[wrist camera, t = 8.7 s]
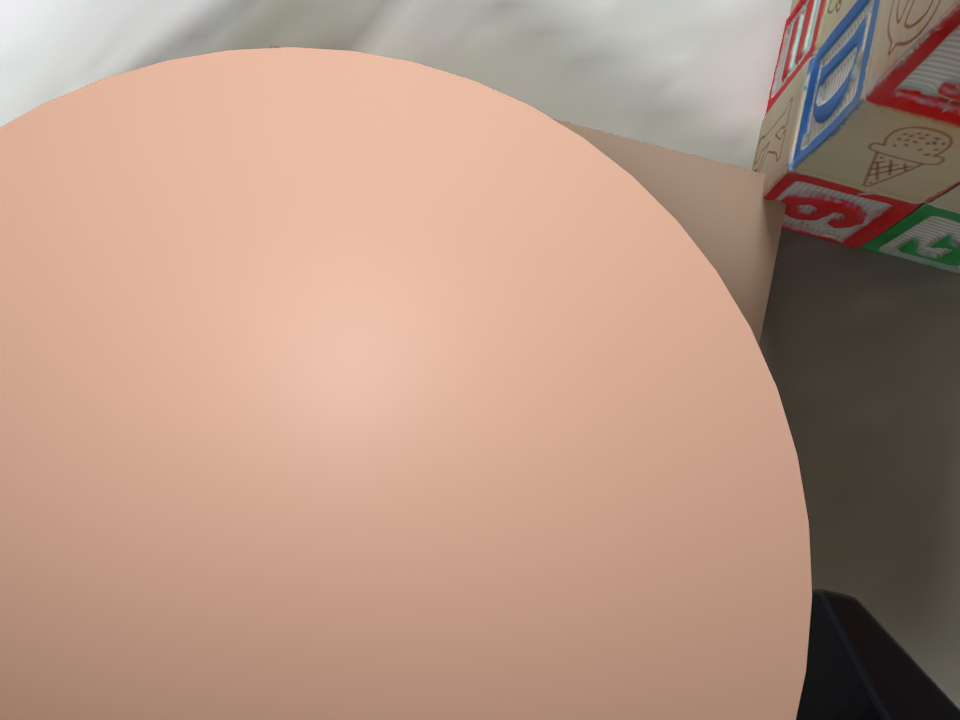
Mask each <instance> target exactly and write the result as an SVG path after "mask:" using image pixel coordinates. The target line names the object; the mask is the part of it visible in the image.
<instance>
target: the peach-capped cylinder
mask: <svg viewBox="0 0 960 720" xmlns="http://www.w3.org/2000/svg"><path fill="white" fill-rule="evenodd" d="M811 604H812V582H811V559H810V535H809V521H808V515H807V509H806V503H805V498H804V492H803V486H802V480H801V474H800V468H799V462H798V456H797V452H796V449H795V446H794V442H793V439H792V436H791V432H790V429H789V426H788V422H787V419H786V416H785V412H784V409H783V406H782V402H781V399H780V396H779V392H778V389H777V387H776V384H775V382H774V380H773V378H772V375H771V373H770V371H769V368H768V366H767V364H766V362H765V359H764V357H763V355H762V353H761V350H760V348H759V346H758V344H757V341H756V339H755V337H754V335H753V332H752V330H751V328H750V326H749V324H748V323H747V321H746V319H745V318H744V316H743V314H742V313H741V311H740V309H739V308H738V306H737V304H736V303H735V301H734V299H733V298H732V296H731V294H730V293H729V291H728V289H727V288H726V286H725V284H724V283H723V281H722V279H721V278H720V276H719V274H718V273H717V271H716V270H715V268H714V267H713V266H712V265H711V263H710V262H709V261H708V260H707V258H706V257H705V256H704V254H703V253H702V252H701V251H700V249H699V248H698V247H697V245H696V244H695V243H694V242H693V240H692V239H691V238H690V236H689V235H688V234H687V233H686V231H685V230H684V229H683V228H682V226H681V225H680V224H679V222H678V221H677V220H676V219H675V218H674V217H673V216H672V215H671V214H670V213H669V212H668V211H667V210H666V209H665V208H664V207H663V206H662V205H661V204H660V203H659V202H658V201H657V200H656V199H655V198H654V197H653V196H652V195H651V194H650V193H649V192H648V191H647V190H646V189H645V188H644V187H643V186H642V185H641V184H640V183H639V182H638V181H637V180H636V179H635V178H634V177H633V176H632V175H630V174H629V173H628V172H627V171H625V170H624V169H623V168H621V167H620V166H619V165H618V164H616V163H615V162H614V161H612V160H611V159H610V158H609V157H607V156H606V155H605V154H603V153H602V152H601V151H600V150H598V149H597V148H596V147H594V146H593V145H592V144H591V143H589V142H588V141H587V140H586V139H584V138H583V137H581V136H580V135H578V134H576V133H575V132H573V131H571V130H570V129H568V128H566V127H565V126H563V125H561V124H560V123H558V122H556V121H555V120H553V119H551V118H550V117H548V116H546V115H545V114H543V113H541V112H540V111H538V110H536V109H535V108H533V107H531V106H529V105H527V104H525V103H523V102H520V101H518V100H516V99H514V98H511V97H509V96H507V95H505V94H502V93H500V92H498V91H496V90H493V89H491V88H489V87H487V86H484V85H482V84H480V83H478V82H476V81H473V80H470V79H467V78H463V77H460V76H457V75H454V74H450V73H447V72H444V71H441V70H438V69H434V68H431V67H428V66H425V65H421V64H418V63H415V62H410V61H404V60H399V59H393V58H388V57H382V56H377V55H371V54H366V53H361V52H355V51H342V50H327V49H311V48H295V47H286V48H267V49H248V50H228V51H222V52H216V53H211V54H205V55H199V56H193V57H187V58H181V59H175V60H169V61H164V62H160V63H157V64H154V65H150V66H147V67H143V68H140V69H136V70H133V71H129V72H126V73H122V74H119V75H115V76H112V77H108V78H105V79H102V80H100V81H97V82H95V83H92V84H90V85H87V86H85V87H83V88H80V89H78V90H75V91H73V92H71V93H68V94H66V95H63V96H61V97H58V98H56V99H54V100H51V101H49V102H46V103H44V104H42V105H40V106H38V107H36V108H35V109H33V110H31V111H29V112H27V113H26V114H24V115H22V116H20V117H18V118H16V119H15V120H13V121H11V122H9V123H7V124H6V125H4V126H2V127H0V720H796V716H797V711H798V707H799V702H800V697H801V692H802V688H803V683H804V678H805V673H806V665H807V653H808V641H809V629H810V616H811Z"/></svg>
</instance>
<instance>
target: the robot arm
mask: <svg viewBox="0 0 960 720" xmlns="http://www.w3.org/2000/svg"><path fill="white" fill-rule="evenodd" d="M796 720H960V710H959V708H958V707H957V706H956V705H955V704H954V703H953V702H952V701H951V700H950V699H949V698H948V697H947V695H946V694H945V693H944V692H943V691H942V690H941V689H940V688H939V687H938V686H937V685H936V684H935V683H934V681H933V680H932V679H931V678H930V677H929V676H928V675H927V674H926V673H925V672H924V671H923V670H922V668H921V667H920V666H919V665H918V664H917V663H916V662H915V661H914V660H913V659H912V658H911V657H910V656H909V654H908V653H907V652H906V651H905V650H904V649H903V648H902V647H901V646H900V645H899V644H898V643H897V641H896V640H895V639H894V638H893V637H892V636H891V635H890V634H889V633H888V632H887V631H886V630H885V628H884V627H883V626H882V625H881V624H880V623H879V622H878V621H877V620H876V619H875V618H874V617H873V616H872V614H871V613H870V612H869V611H868V610H867V609H866V608H865V607H864V606H863V605H862V604H861V603H860V602H859V601H858V600H857V599H855V598H854V597H851V596H849V595H845V594H840V593H836V592H831V591H826V590H821V589H814V590H812V604H811V616H810V629H809V641H808V653H807V665H806V673H805V678H804V683H803V688H802V692H801V697H800V702H799V707H798V711H797V716H796Z"/></svg>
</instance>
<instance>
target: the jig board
mask: <svg viewBox="0 0 960 720" xmlns="http://www.w3.org/2000/svg"><path fill="white" fill-rule="evenodd" d="M269 48H281V47H277V46H273V45H270V47H269ZM551 119H552V118H551ZM553 120H555V121H556V122H558V123H560V124H561V125H563V126H565V127H566V128H568V129H570V130H571V131H573V132H575V133H576V134H578V135H580V136H581V137H583V138H584V139H586V140H587V141H588V142H589V143H591V144H592V145H593V146H594V147H596V148H597V149H598V150H600V151H601V152H602V153H603V154H605V155H606V156H607V157H609V158H610V159H611V160H612V161H614V162H615V163H616V164H618V165H619V166H620V167H621V168H623V169H624V170H625V171H627V172H628V173H629V174H630V175H632V176H633V177H634V178H635V179H636V180H637V181H638V182H639V183H640V184H641V185H642V186H643V187H644V188H645V189H646V190H647V191H648V192H649V193H650V194H651V195H652V196H653V197H654V198H655V199H656V200H657V201H658V202H659V203H660V204H661V205H662V206H663V207H664V208H665V209H666V210H667V211H668V212H669V213H670V214H671V215H672V216H673V217H674V218H675V219H676V220H677V221H678V222H679V224H680V225H681V226H682V228H683V229H684V230H685V231H686V233H687V234H688V235H689V236H690V238H691V239H692V240H693V242H694V243H695V244H696V245H697V247H698V248H699V249H700V251H701V252H702V253H703V254H704V256H705V257H706V258H707V260H708V261H709V262H710V263H711V265H712V266H713V267H714V268H715V270H716V271H717V273H718V274H719V276H720V278H721V279H722V281H723V283H724V284H725V286H726V288H727V289H728V291H729V293H730V294H731V296H732V298H733V299H734V301H735V303H736V304H737V306H738V308H739V309H740V311H741V313H742V314H743V316H744V318H745V319H746V321H747V323H748V324H749V326H750V328H751V330H752V332H753V335H754V337H755V339H756V341H757V344H758V346H759V344H760V339H761V333H762V328H763V323H764V318H765V313H766V308H767V302H768V297H769V292H770V287H771V282H772V276H773V271H774V266H775V261H776V256H777V251H778V245H779V240H780V235H781V230H782V225H783V219H784V214H785V209H786V204H784V203H782V202H781V201H780V200H766V199H764V198H763V188H764V180H765V175H766V174H762V173H758V172H754V171H750V170H747V169H743V168H739V167H735V166H731V165H727V164H724V163H720V162H716V161H712V160H708V159H705V158H701V157H697V156H693V155H689V154H685V153H682V152H678V151H674V150H670V149H666V148H663V147H659V146H655V145H651V144H647V143H644V142H640V141H636V140H632V139H628V138H624V137H621V136H617V135H613V134H609V133H605V132H602V131H598V130H594V129H590V128H586V127H582V126H579V125H575V124H571V123H567V122H563V121H560V120H556V119H553Z"/></svg>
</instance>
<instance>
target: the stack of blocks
mask: <svg viewBox="0 0 960 720" xmlns="http://www.w3.org/2000/svg"><path fill="white" fill-rule="evenodd" d="M752 171H754V172H758V173H762V174H766V175H765V180H764V188H763V198H764V199H766V200H780V201H781V202H782V203H784V204H786V209H785V214H784V219H783V225H782V229H786V230H790V231H793V232H797V233H802V234H806V235H809V236H813V237H817V238H821V239H825V240H829V241H833V242H836V243H839V244H843V245H846V246H849V247H852V248H863V249H867V250H871V251H875V252H879V253H882V254H886V255H890V256H894V257H898V258H901V259H905V260H909V261H912V262H916V263H919V264H923V265H927V266H930V267H934V268H937V269H941V270H945V271H949V272H952V273H956V274H959V275H960V0H793V2H792V6H791V11H790V16H789V18H788V19H787V21H786V25H785V30H784V34H783V39H782V43H781V47H780V52H779V57H778V61H777V65H776V69H775V73H774V79H773V83H772V88H771V91H770V97H769V101H768V106H767V111H766V114H765V117H764V119H763V122H762V126H761V131H760V135H759V140H758V144H757V149H756V153H755V158H754V163H753V167H752Z"/></svg>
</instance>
